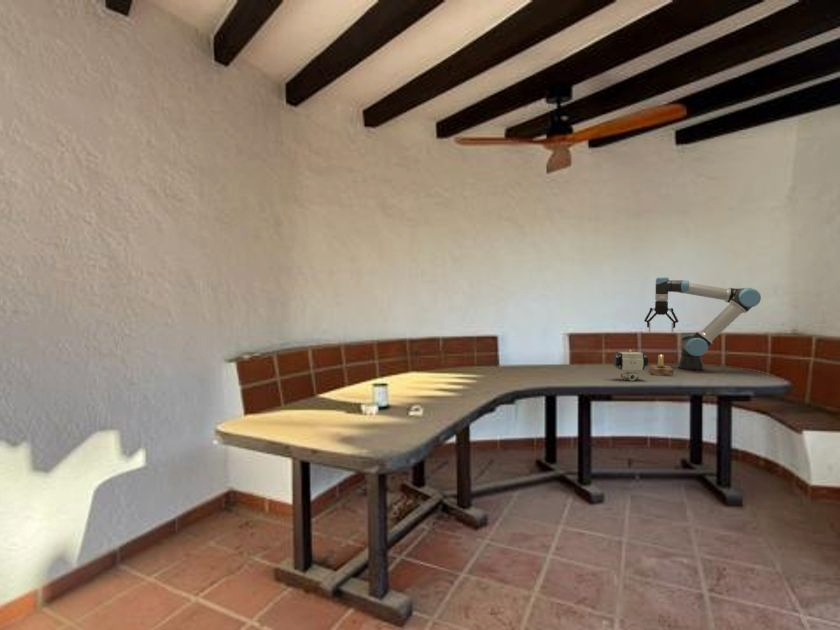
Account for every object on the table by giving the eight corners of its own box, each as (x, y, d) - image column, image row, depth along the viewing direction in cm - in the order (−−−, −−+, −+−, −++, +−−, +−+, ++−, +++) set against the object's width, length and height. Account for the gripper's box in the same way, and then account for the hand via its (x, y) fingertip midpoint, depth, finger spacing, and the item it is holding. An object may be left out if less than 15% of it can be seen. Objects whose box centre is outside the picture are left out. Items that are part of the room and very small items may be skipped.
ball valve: (616, 381, 278) (617, 350, 277) (612, 378, 287) (612, 349, 286) (648, 381, 277) (649, 351, 276) (643, 378, 285) (643, 349, 285)
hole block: (669, 372, 309) (670, 366, 309) (673, 376, 294) (673, 369, 294) (649, 371, 313) (649, 365, 313) (651, 375, 298) (651, 368, 298)
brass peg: (663, 373, 305) (663, 354, 304) (663, 374, 302) (664, 355, 301) (657, 373, 306) (658, 354, 305) (658, 373, 303) (658, 355, 302)
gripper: (641, 300, 318) (640, 332, 319) (683, 301, 309) (682, 333, 310) (640, 300, 325) (639, 331, 326) (682, 300, 316) (681, 332, 317)
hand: (660, 332), depth 318 cm, fingers open, 13 cm apart
